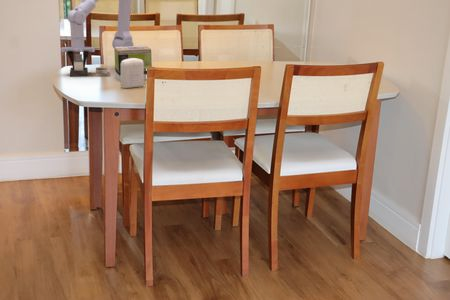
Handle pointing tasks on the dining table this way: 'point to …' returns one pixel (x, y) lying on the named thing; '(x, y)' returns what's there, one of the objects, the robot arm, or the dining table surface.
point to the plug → (78, 62)
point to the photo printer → (132, 73)
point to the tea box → (132, 52)
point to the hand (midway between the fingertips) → (78, 67)
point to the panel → (84, 73)
